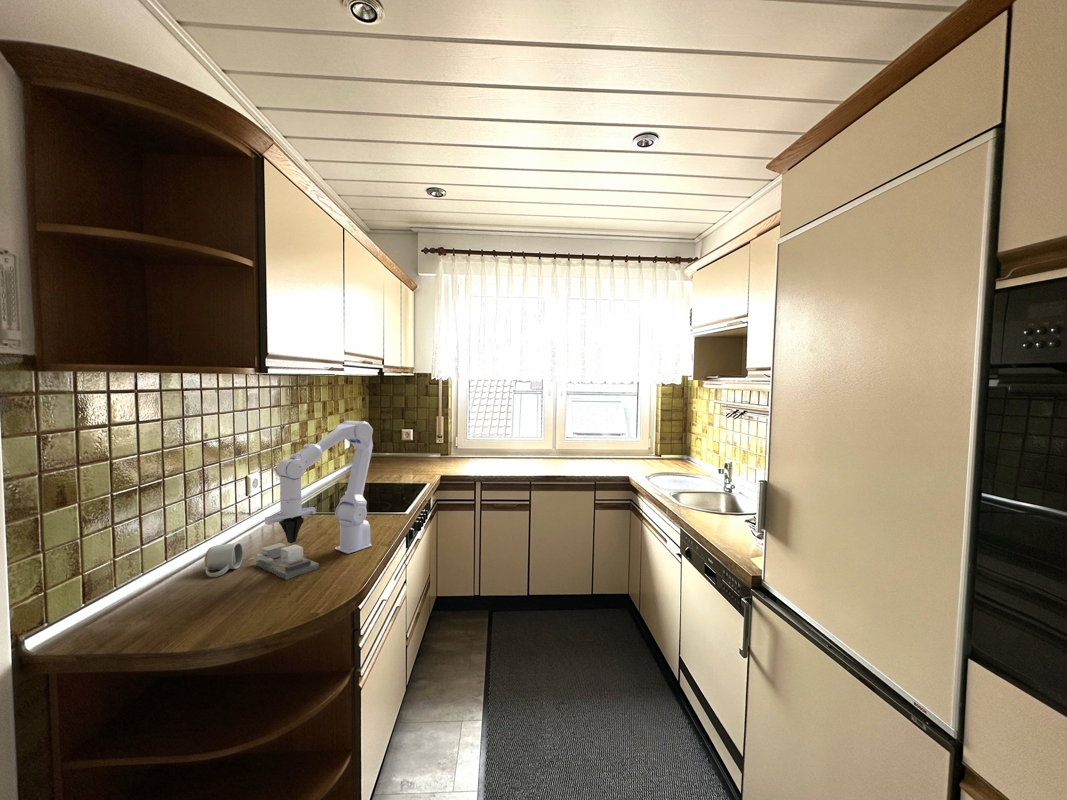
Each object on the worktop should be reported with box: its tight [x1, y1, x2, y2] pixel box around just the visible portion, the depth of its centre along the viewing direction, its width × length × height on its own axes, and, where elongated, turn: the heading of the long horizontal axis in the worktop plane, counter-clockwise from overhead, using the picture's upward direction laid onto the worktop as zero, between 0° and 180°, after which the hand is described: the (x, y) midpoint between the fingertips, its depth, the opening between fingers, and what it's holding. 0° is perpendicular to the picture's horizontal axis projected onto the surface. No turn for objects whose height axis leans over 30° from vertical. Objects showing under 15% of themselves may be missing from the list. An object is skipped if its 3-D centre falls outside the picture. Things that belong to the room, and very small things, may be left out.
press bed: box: [255, 553, 320, 580], centre depth 144 cm, size 10×20×3 cm, turn 55°
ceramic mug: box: [204, 542, 244, 578], centre depth 141 cm, size 11×8×8 cm
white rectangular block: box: [281, 543, 304, 567], centre depth 142 cm, size 4×4×5 cm
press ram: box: [260, 542, 288, 559], centre depth 148 cm, size 6×4×3 cm, turn 145°
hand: (291, 542), depth 142 cm, fingers closed
